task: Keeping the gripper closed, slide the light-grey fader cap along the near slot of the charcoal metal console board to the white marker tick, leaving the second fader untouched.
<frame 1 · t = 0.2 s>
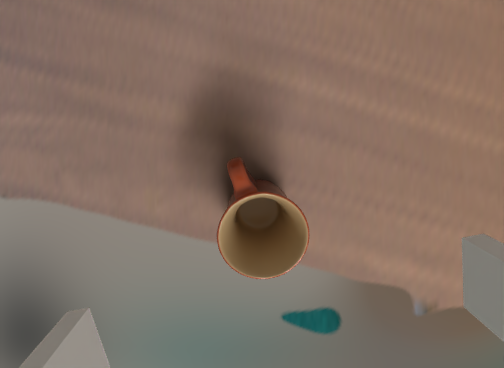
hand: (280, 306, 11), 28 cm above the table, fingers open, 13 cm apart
mug: (252, 193, 39), on the table
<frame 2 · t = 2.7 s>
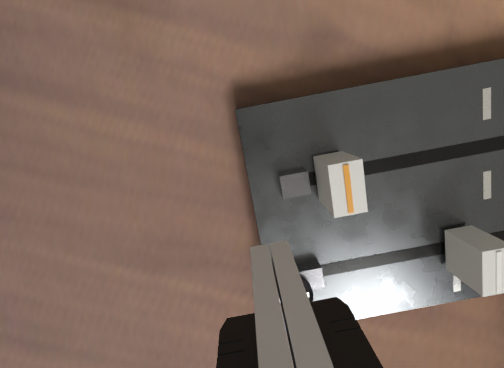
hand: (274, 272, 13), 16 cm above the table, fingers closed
fader b: (477, 259, 26), point 5 cm above the table, slide at 0.0 cm
console board: (409, 195, 30), on the table
fader a: (338, 182, 24), point 5 cm above the table, slide at 0.0 cm
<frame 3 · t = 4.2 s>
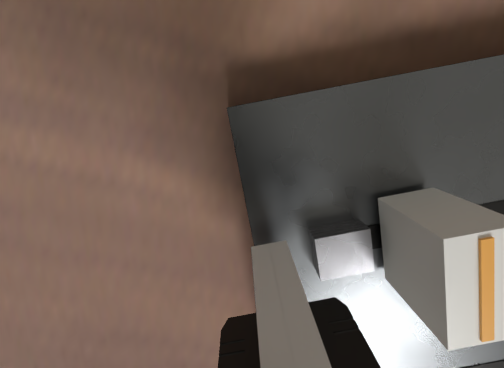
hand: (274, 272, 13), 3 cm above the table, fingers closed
fader a: (440, 257, 12), point 5 cm above the table, slide at 0.0 cm
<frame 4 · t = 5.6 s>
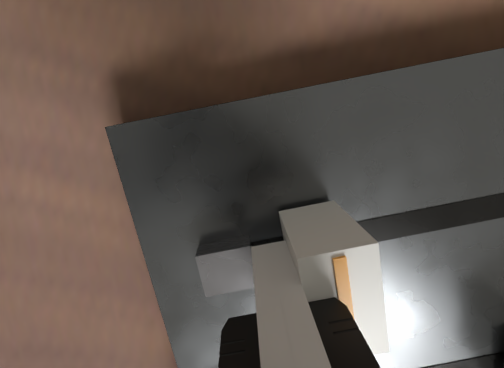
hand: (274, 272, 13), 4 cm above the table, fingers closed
console board: (438, 267, 17), on the table
fader a: (326, 272, 12), point 5 cm above the table, slide at 0.8 cm, touching gripper
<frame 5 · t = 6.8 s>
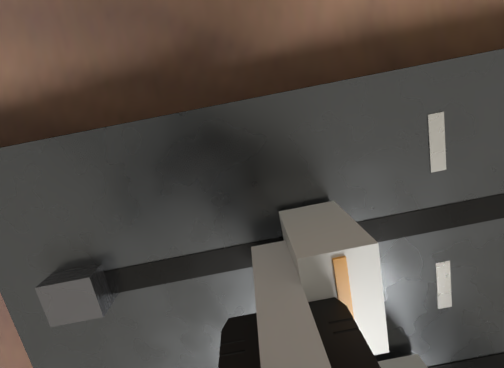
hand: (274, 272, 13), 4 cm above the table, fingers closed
console board: (316, 291, 17), on the table
fader a: (326, 272, 12), point 5 cm above the table, slide at 7.8 cm, touching gripper
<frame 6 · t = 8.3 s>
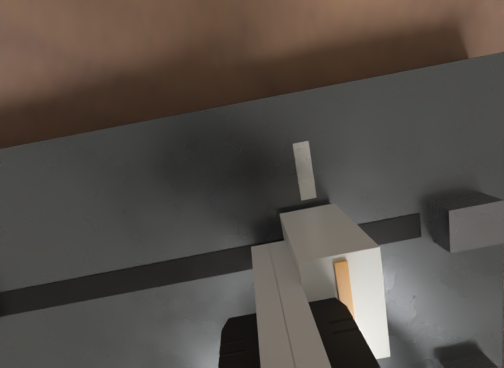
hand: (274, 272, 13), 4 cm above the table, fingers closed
console board: (212, 313, 17), on the table
fader a: (327, 275, 12), point 5 cm above the table, slide at 13.8 cm, touching gripper
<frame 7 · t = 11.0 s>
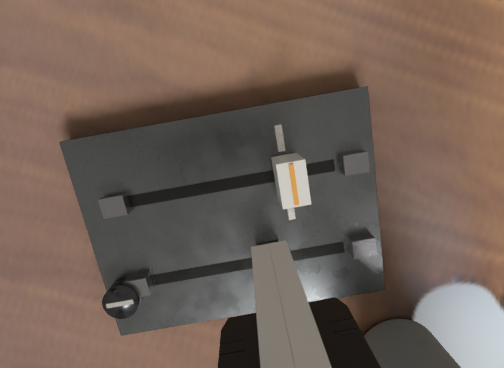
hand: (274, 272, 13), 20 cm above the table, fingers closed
water bottle: (390, 348, 39), on the table
console board: (234, 215, 34), on the table
fader a: (290, 179, 28), point 5 cm above the table, slide at 14.1 cm
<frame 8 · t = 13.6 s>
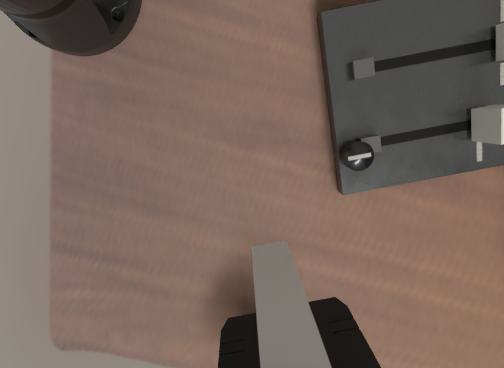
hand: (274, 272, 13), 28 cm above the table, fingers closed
fader b: (496, 123, 36), point 5 cm above the table, slide at 0.0 cm
console board: (443, 87, 39), on the table
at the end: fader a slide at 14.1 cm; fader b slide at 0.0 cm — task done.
